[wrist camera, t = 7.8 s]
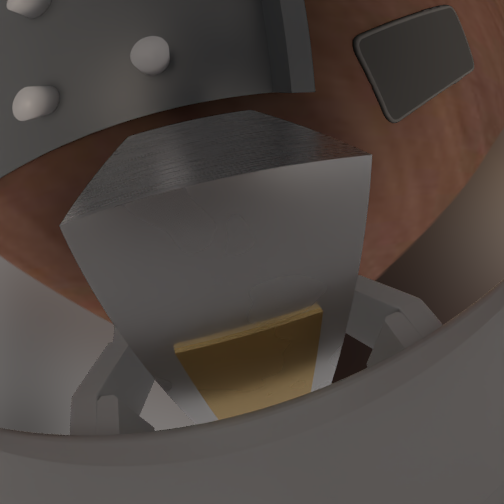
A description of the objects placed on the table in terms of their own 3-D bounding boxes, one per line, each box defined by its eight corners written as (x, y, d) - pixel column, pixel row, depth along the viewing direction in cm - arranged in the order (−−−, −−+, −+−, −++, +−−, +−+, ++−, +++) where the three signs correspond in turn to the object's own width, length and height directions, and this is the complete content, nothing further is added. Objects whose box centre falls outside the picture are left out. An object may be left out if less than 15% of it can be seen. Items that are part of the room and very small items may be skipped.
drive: (128, 136, 7) (56, 229, 2) (250, 109, 8) (376, 157, 3) (196, 338, 13) (222, 451, 8) (271, 318, 14) (319, 422, 9)
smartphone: (349, 38, 12) (452, 3, 10) (341, 39, 13) (445, 3, 11) (392, 129, 16) (477, 69, 14) (384, 126, 17) (470, 68, 15)
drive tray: (-34, 35, 4) (-64, 34, 1) (261, -66, 7) (283, -91, 4) (-13, 185, 10) (-42, 208, 8) (285, 90, 14) (316, 91, 11)
